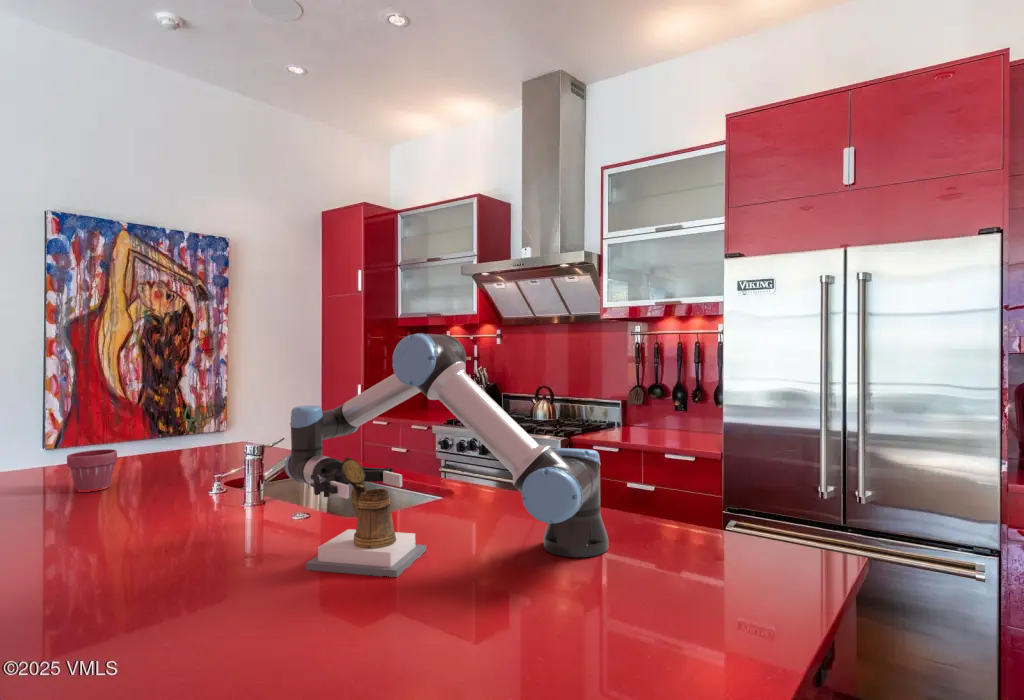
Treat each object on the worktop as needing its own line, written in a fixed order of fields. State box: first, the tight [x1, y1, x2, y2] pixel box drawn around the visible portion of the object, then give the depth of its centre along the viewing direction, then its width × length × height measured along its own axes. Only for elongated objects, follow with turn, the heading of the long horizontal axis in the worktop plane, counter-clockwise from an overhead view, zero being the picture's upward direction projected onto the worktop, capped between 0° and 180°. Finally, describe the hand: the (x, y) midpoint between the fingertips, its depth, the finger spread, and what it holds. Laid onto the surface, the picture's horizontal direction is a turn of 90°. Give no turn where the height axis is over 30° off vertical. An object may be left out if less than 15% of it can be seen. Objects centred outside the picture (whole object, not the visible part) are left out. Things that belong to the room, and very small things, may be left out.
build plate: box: [305, 528, 427, 578], centre depth 133 cm, size 21×16×4 cm
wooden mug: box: [341, 456, 396, 548], centre depth 133 cm, size 9×14×18 cm, turn 57°
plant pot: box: [66, 448, 118, 490], centre depth 205 cm, size 14×14×13 cm
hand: (375, 486), depth 131 cm, fingers open, 13 cm apart
